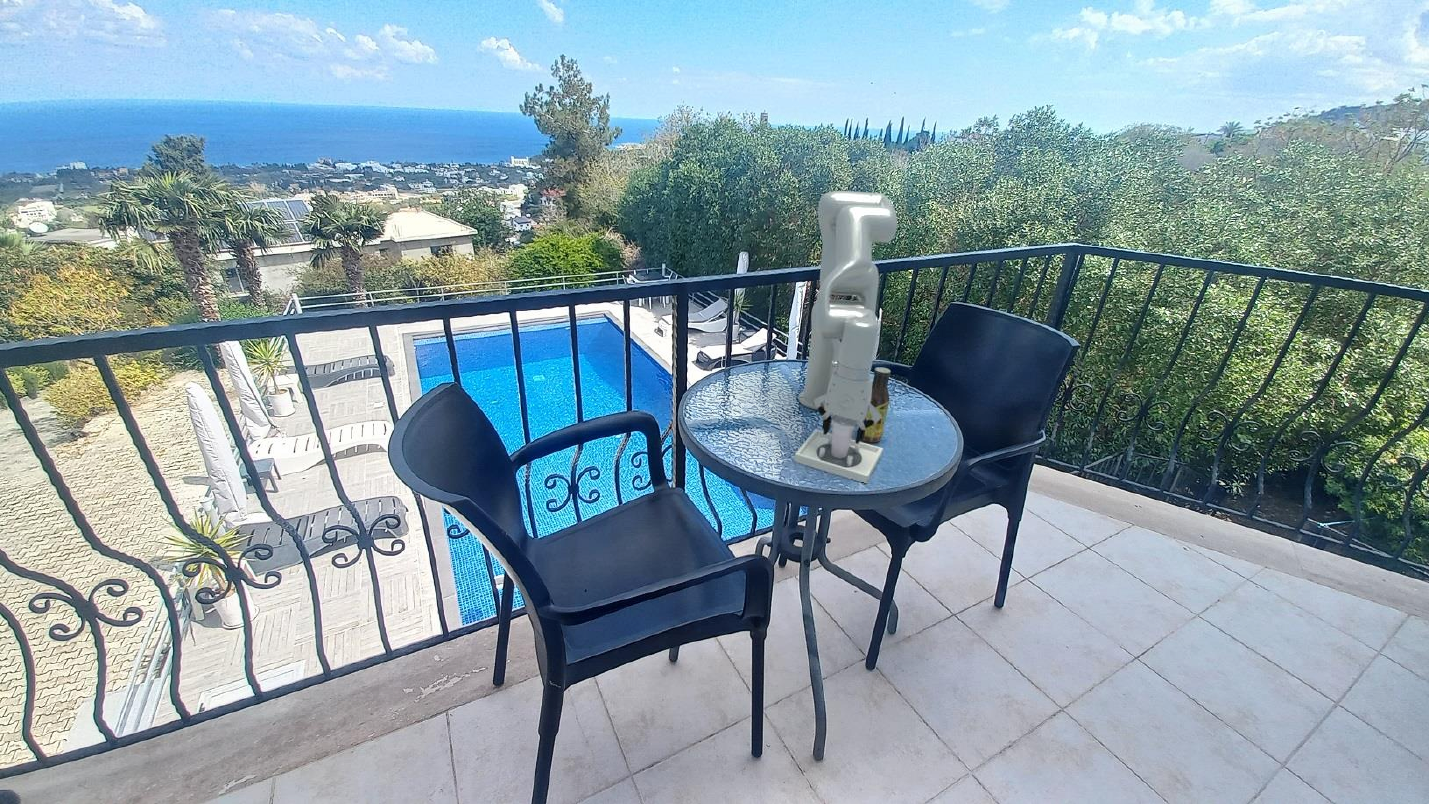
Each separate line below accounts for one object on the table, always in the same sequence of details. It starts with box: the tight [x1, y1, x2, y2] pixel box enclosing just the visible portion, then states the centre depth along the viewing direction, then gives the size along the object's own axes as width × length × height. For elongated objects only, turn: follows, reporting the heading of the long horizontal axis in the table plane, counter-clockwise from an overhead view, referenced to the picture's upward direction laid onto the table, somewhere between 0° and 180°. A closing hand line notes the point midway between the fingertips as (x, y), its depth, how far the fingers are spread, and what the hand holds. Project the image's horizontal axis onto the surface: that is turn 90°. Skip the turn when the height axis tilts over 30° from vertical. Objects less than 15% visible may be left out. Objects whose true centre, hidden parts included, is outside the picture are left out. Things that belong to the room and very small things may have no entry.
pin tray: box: [793, 428, 884, 484], centre depth 134 cm, size 15×18×4 cm
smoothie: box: [831, 415, 859, 458], centre depth 132 cm, size 6×6×14 cm
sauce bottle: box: [858, 366, 892, 444], centre depth 141 cm, size 7×6×20 cm
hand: (842, 436), depth 132 cm, fingers open, 7 cm apart
